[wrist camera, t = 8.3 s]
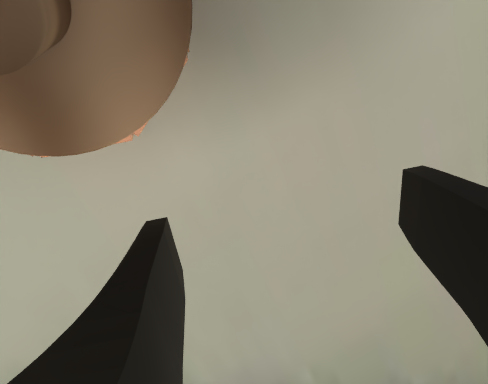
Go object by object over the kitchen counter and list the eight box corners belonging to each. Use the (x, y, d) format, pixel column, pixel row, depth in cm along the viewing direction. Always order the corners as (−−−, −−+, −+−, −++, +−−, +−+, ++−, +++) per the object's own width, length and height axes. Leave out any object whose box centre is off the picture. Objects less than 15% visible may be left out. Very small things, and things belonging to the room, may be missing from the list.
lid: (154, -241, 11) (144, -341, 7) (211, 126, 17) (222, 171, 13) (-268, -205, 10) (-517, -299, 7) (-57, 168, 16) (-126, 229, 12)
